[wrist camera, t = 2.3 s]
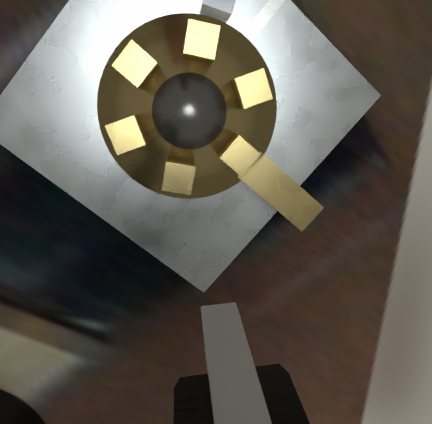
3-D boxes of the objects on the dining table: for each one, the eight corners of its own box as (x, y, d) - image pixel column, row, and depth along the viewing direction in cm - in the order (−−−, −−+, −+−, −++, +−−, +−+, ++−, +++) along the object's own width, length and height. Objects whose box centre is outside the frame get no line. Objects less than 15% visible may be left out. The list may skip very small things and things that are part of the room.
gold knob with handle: (72, 119, 26) (53, 122, 22) (175, -15, 25) (176, -40, 21) (250, 260, 30) (263, 285, 26) (348, 152, 29) (378, 160, 25)
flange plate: (202, 281, 33) (207, 315, 28) (-10, 125, 28) (-52, 130, 23) (371, 91, 30) (413, 89, 25) (169, -120, 25) (168, -179, 20)
